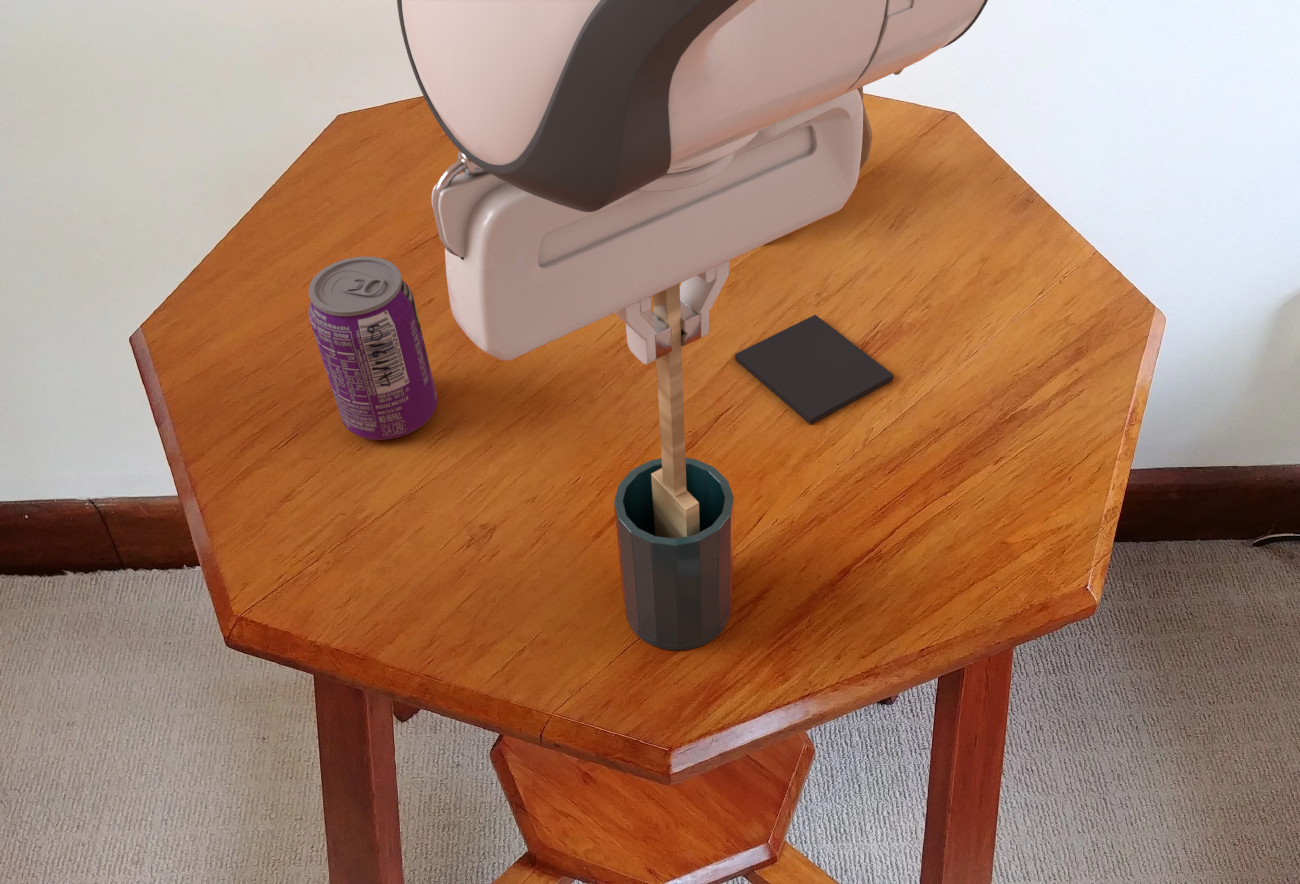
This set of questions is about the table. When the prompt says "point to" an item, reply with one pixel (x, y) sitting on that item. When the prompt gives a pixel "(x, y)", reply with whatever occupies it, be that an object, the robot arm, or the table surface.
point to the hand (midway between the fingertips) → (668, 343)
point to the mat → (813, 368)
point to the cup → (676, 560)
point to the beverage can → (372, 347)
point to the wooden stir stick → (672, 432)
